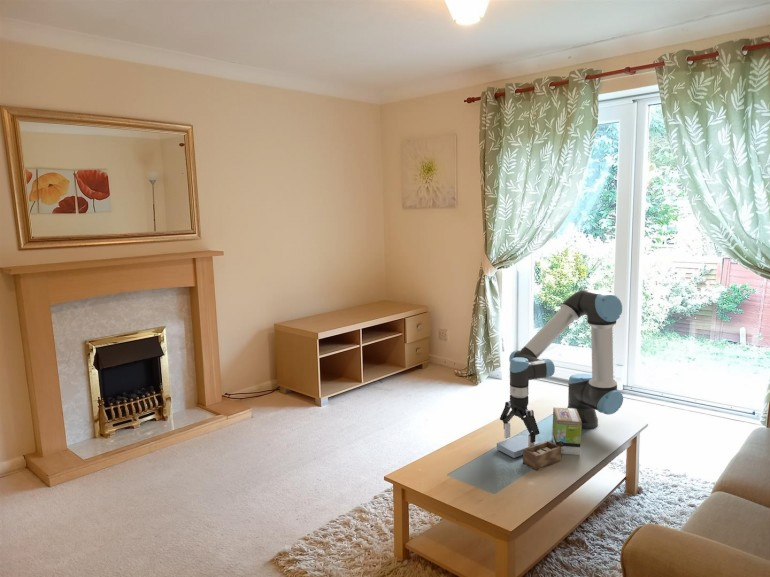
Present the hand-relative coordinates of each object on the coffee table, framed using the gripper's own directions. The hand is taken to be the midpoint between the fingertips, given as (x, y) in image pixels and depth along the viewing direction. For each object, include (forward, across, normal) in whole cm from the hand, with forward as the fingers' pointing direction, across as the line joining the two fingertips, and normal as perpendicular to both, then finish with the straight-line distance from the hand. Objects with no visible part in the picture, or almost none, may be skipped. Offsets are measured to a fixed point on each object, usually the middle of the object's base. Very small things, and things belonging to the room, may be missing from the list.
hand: (518, 443), depth 223 cm
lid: (+2, 0, 0) cm, 2 cm away
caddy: (+3, +13, 0) cm, 13 cm away
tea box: (+4, +9, +19) cm, 21 cm away
